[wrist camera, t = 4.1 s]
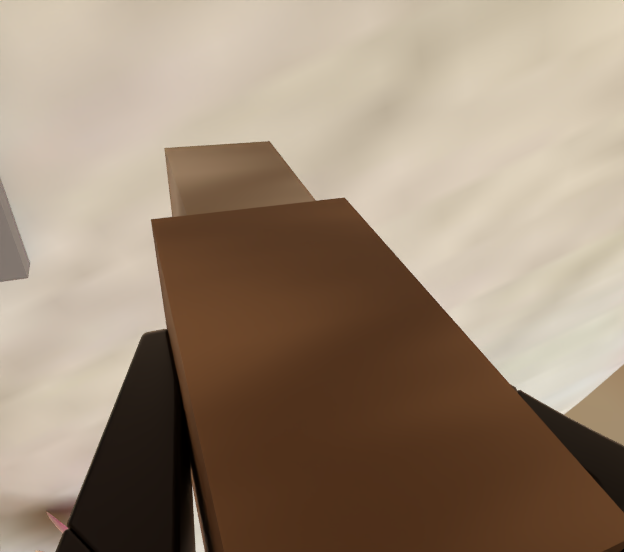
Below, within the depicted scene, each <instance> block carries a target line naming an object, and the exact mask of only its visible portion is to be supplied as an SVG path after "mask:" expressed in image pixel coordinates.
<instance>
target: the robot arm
mask: <svg viewBox="0 0 624 552" xmlns="http://www.w3.org/2000/svg"><path fill="white" fill-rule="evenodd" d="M510 385H511V384H510ZM511 386H512V385H511ZM512 387H513V388H514V389H515V391H516V392H517V393H518V394H519V395H520V396H521V397H522V399H523V400H524V401H525V402H526V403H527V404H528V405H529V406H530V408H531V409H532V410H533V411H534V412H535V413H536V414H537V415H538V417H539V418H540V419H541V420H542V421H543V422H544V423H545V424H546V426H547V427H548V428H549V429H550V430H551V431H552V432H553V434H554V435H555V436H556V437H557V438H558V439H559V440H560V441H561V443H562V444H563V445H564V446H565V447H566V448H567V449H568V450H569V452H570V453H571V454H572V455H573V456H574V457H575V458H576V459H577V461H578V462H579V463H580V464H581V465H582V466H583V467H584V469H585V470H586V471H587V472H588V473H589V474H590V475H591V476H592V478H593V479H594V480H595V481H596V482H597V483H598V484H599V485H600V487H601V488H602V489H603V490H604V491H605V492H606V493H607V494H608V496H609V497H610V498H611V499H612V500H613V501H614V502H615V504H616V505H617V506H618V507H619V508H620V509H621V510H622V511H623V513H624V446H623V445H621V444H619V443H617V442H615V441H613V440H611V439H609V438H607V437H605V436H603V435H601V434H599V433H597V432H595V431H593V430H591V429H589V428H587V427H586V426H584V425H582V424H580V423H578V422H576V421H574V420H572V419H570V418H568V417H567V416H565V415H563V414H561V413H559V412H558V411H556V410H554V409H552V408H551V407H549V406H547V405H545V404H543V403H542V402H540V401H538V400H536V399H535V398H533V397H531V396H530V395H528V394H526V393H524V392H523V391H521V390H518V391H517V389H516V388H515V387H514V386H512ZM67 527H68V529H66V530H65V531H64V532H63V534H62V537H61V539H60V542H59V544H58V547H57V549H56V552H196V551H195V532H194V514H193V495H192V476H191V462H190V455H189V448H188V440H187V433H186V426H185V419H184V411H183V404H182V397H181V390H180V385H179V380H178V375H177V370H176V366H175V361H174V357H173V352H172V347H171V343H170V338H169V334H168V330H167V329H161V330H156V331H151V332H146V333H144V334H143V335H142V337H141V339H140V342H139V344H138V347H137V349H136V352H135V354H134V357H133V359H132V362H131V364H130V367H129V369H128V372H127V375H126V377H125V380H124V382H123V385H122V387H121V390H120V392H119V395H118V397H117V400H116V402H115V405H114V407H113V410H112V412H111V415H110V417H109V420H108V422H107V425H106V427H105V430H104V432H103V435H102V437H101V440H100V442H99V445H98V447H97V450H96V452H95V455H94V457H93V460H92V462H91V465H90V467H89V470H88V472H87V475H86V477H85V480H84V482H83V485H82V487H81V490H80V492H79V495H78V498H77V500H76V503H75V505H74V508H73V510H72V513H71V515H70V518H69V520H68V523H67ZM620 552H624V549H623V550H622V551H620Z"/></svg>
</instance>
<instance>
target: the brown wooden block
mask: <svg viewBox="0 0 624 552" xmlns="http://www.w3.org/2000/svg"><path fill="white" fill-rule="evenodd" d="M165 156H166V165H167V174H168V183H169V191H170V200H171V209H172V217H168V218H160V219H151V223H152V230H153V237H154V243H155V250H156V257H157V264H158V271H159V277H160V284H161V291H162V298H163V305H164V312H165V318H166V325H167V330H168V334H169V338H170V343H171V347H172V352H173V357H174V361H175V366H176V370H177V375H178V380H179V385H180V390H181V397H182V404H183V411H184V419H185V426H186V433H187V440H188V448H189V455H190V462H191V476H192V486H193V491H194V496H195V502H196V507H197V512H198V517H199V523H200V528H201V533H202V538H203V543H204V549H205V552H620V551H622V550H623V549H624V513H623V511H622V510H621V509H620V508H619V507H618V506H617V505H616V504H615V502H614V501H613V500H612V499H611V498H610V497H609V496H608V494H607V493H606V492H605V491H604V490H603V489H602V488H601V487H600V485H599V484H598V483H597V482H596V481H595V480H594V479H593V478H592V476H591V475H590V474H589V473H588V472H587V471H586V470H585V469H584V467H583V466H582V465H581V464H580V463H579V462H578V461H577V459H576V458H575V457H574V456H573V455H572V454H571V453H570V452H569V450H568V449H567V448H566V447H565V446H564V445H563V444H562V443H561V441H560V440H559V439H558V438H557V437H556V436H555V435H554V434H553V432H552V431H551V430H550V429H549V428H548V427H547V426H546V424H545V423H544V422H543V421H542V420H541V419H540V418H539V417H538V415H537V414H536V413H535V412H534V411H533V410H532V409H531V408H530V406H529V405H528V404H527V403H526V402H525V401H524V400H523V399H522V397H521V396H520V395H519V394H518V393H517V392H516V391H515V389H514V388H513V387H512V386H511V385H510V384H509V383H508V382H507V380H506V379H505V378H504V377H503V376H502V375H501V374H500V373H499V371H498V370H497V369H496V368H495V367H494V366H493V365H492V364H491V362H490V361H489V360H488V359H487V358H486V357H485V356H484V354H483V353H482V352H481V351H480V350H479V349H478V348H477V347H476V345H475V344H474V343H473V342H472V341H471V340H470V339H469V338H468V336H467V335H466V334H465V333H464V332H463V331H462V330H461V329H460V327H459V326H458V325H457V324H456V323H455V322H454V321H453V319H452V318H451V317H450V316H449V315H448V314H447V313H446V312H445V310H444V309H443V308H442V307H441V306H440V305H439V304H438V303H437V301H436V300H435V299H434V298H433V297H432V296H431V295H430V294H429V292H428V291H427V290H426V289H425V288H424V287H423V286H422V284H421V283H420V282H419V281H418V280H417V279H416V278H415V277H414V275H413V274H412V273H411V272H410V271H409V270H408V269H407V268H406V266H405V265H404V264H403V263H402V262H401V261H400V260H399V259H398V257H397V256H396V255H395V254H394V253H393V252H392V251H391V249H390V248H389V247H388V246H387V245H386V244H385V243H384V242H383V240H382V239H381V238H380V237H379V236H378V235H377V234H376V233H375V231H374V230H373V229H372V228H371V227H370V226H369V225H368V224H367V222H366V221H365V220H364V219H363V218H362V217H361V216H360V214H359V213H358V212H357V211H356V210H355V209H354V208H353V207H352V205H351V204H350V203H349V202H348V201H347V200H346V199H345V198H337V199H328V200H319V201H316V200H315V199H314V198H313V196H312V195H311V194H310V193H309V191H308V190H307V189H306V187H305V186H304V185H303V184H302V182H301V181H300V180H299V179H298V177H297V176H296V175H295V173H294V172H293V171H292V170H291V168H290V167H289V166H288V164H287V163H286V162H285V161H284V159H283V158H282V157H281V155H280V154H279V153H278V152H277V150H276V149H275V148H274V147H273V145H272V144H271V143H270V141H268V142H252V143H237V144H221V145H206V146H190V147H175V148H165Z"/></svg>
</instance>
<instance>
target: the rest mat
mask: <svg viewBox="0 0 624 552" xmlns="http://www.w3.org/2000/svg"><path fill="white" fill-rule="evenodd" d="M29 267H30V262H29V259H28V256H27V253H26V251H25V248H24V245H23V242H22V239H21V236H20V233H19V231H18V228H17V225H16V222H15V219H14V216H13V213H12V211H11V208H10V205H9V202H8V199H7V196H6V193H5V191H4V188H3V185H2V182H1V179H0V282H3V281H11V280H18V279H25V278H28V274H29Z"/></svg>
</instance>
